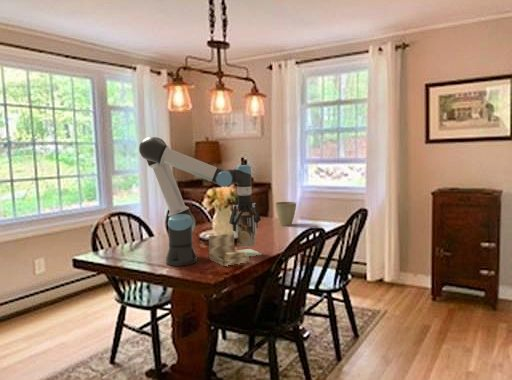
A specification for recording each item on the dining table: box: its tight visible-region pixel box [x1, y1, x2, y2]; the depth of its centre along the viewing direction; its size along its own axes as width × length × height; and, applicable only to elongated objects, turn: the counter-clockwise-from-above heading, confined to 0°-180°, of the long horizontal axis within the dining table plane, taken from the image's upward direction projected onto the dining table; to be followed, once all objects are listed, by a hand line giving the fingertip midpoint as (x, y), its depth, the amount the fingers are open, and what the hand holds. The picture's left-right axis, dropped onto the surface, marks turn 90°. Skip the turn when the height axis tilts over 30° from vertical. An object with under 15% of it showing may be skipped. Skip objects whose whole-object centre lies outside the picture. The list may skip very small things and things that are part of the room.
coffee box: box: [235, 213, 256, 247], centre depth 234 cm, size 9×6×16 cm
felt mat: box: [237, 248, 262, 257], centre depth 235 cm, size 12×13×1 cm
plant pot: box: [275, 201, 297, 227], centre depth 314 cm, size 15×15×16 cm
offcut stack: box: [221, 250, 245, 260], centre depth 216 cm, size 11×4×5 cm, turn 120°
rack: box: [208, 232, 250, 267], centre depth 221 cm, size 14×17×12 cm
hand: (245, 235), depth 234 cm, fingers closed on coffee box, 10 cm apart
